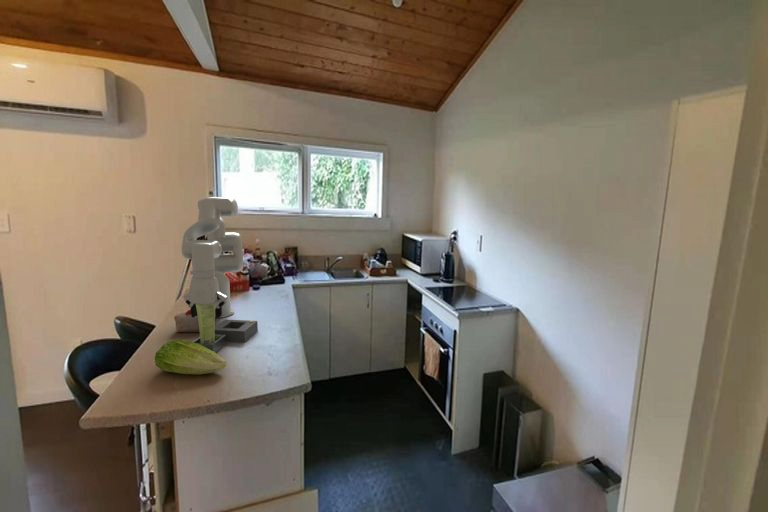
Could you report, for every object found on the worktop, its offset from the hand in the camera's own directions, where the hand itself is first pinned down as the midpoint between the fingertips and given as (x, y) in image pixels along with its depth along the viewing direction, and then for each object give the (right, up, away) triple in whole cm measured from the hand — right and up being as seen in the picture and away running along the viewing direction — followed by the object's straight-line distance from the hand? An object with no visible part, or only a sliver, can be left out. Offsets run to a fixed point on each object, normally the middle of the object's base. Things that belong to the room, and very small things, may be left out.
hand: (206, 316), depth 140 cm
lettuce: (+3, -17, -16) cm, 23 cm away
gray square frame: (0, -13, +2) cm, 14 cm away
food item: (-17, -10, +22) cm, 29 cm away
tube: (0, -13, +3) cm, 14 cm away
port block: (+4, -11, +16) cm, 20 cm away
